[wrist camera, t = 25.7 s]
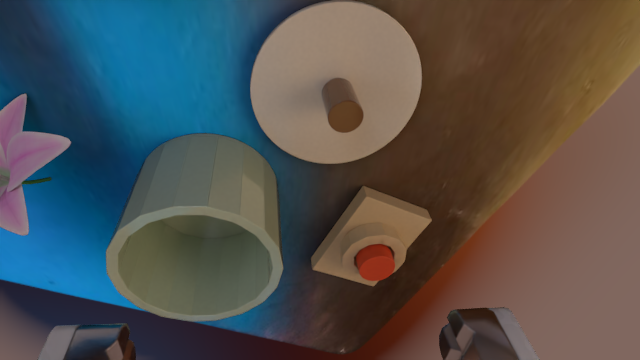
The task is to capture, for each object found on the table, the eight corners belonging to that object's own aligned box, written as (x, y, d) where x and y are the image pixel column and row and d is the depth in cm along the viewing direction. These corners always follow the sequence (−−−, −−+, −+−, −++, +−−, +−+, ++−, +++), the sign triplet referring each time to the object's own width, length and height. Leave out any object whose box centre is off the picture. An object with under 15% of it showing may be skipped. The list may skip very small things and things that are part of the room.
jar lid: (388, -38, 28) (410, -22, 24) (434, 118, 36) (457, 150, 32) (216, 48, 30) (209, 76, 26) (296, 178, 38) (300, 215, 34)
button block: (363, 185, 40) (370, 208, 37) (426, 209, 43) (438, 232, 40) (310, 257, 45) (313, 283, 42) (370, 274, 48) (377, 299, 45)
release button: (368, 239, 40) (372, 252, 38) (397, 248, 41) (402, 262, 40) (349, 262, 42) (352, 276, 40) (378, 271, 43) (382, 284, 42)
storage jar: (231, 108, 33) (223, 177, 26) (300, 210, 41) (309, 287, 33) (105, 169, 35) (63, 250, 28) (193, 256, 43) (178, 338, 35)
